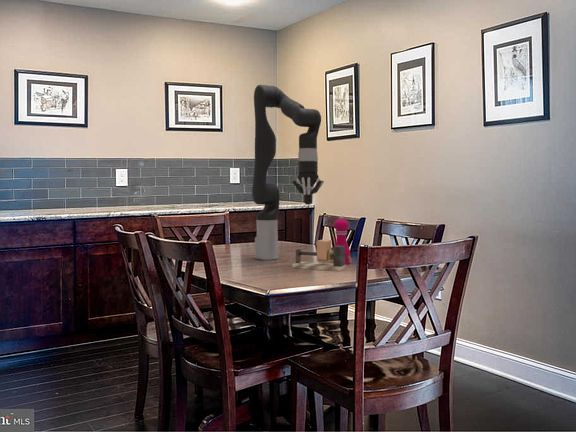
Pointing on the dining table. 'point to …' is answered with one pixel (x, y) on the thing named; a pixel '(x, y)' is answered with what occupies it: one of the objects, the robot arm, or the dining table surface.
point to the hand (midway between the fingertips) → (308, 204)
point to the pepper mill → (342, 235)
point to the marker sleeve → (323, 250)
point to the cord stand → (337, 265)
